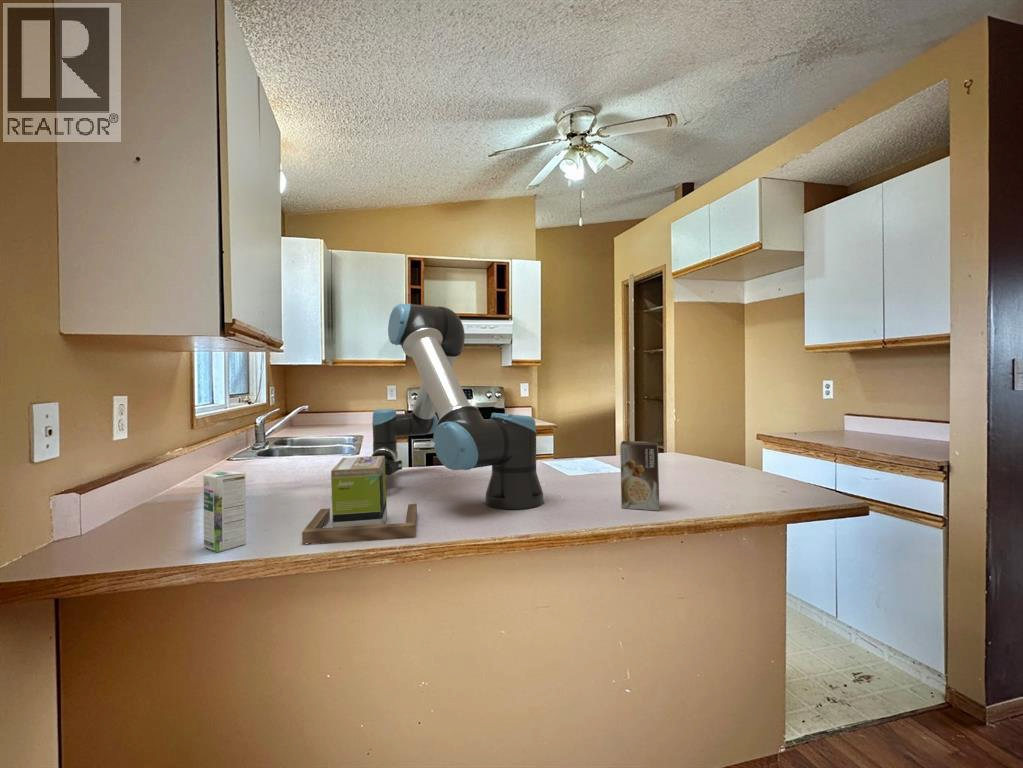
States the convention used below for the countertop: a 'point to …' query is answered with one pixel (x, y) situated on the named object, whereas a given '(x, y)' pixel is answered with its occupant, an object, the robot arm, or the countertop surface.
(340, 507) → the tea box
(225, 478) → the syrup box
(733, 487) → the countertop surface
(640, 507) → the coffee box
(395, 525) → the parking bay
